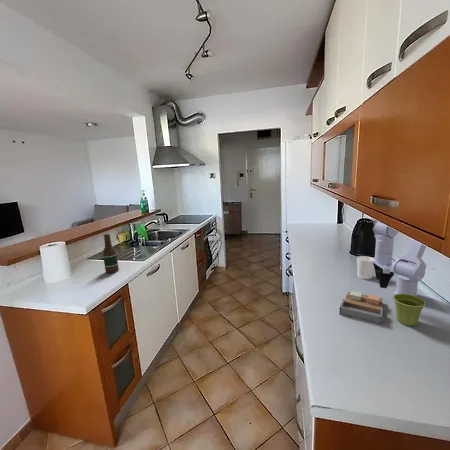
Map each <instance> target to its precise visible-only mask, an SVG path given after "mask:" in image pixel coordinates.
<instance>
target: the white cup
mask: <svg viewBox="0 0 450 450" xmlns="http://www.w3.org/2000/svg"><path fill="white" fill-rule="evenodd" d="M371 260H375V257H371V256H364V255H362V256H361V255H360V256H357V257H356V271H357V272H356V273H357V274H356V275H357V277H358V278H359V279H362V280H372V279H373V274H374V270H375V268H374V265H373V263H371Z"/></svg>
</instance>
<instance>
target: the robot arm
mask: <svg viewBox="0 0 450 450" xmlns="http://www.w3.org/2000/svg"><path fill="white" fill-rule="evenodd" d="M379 221H380V220H378V221H376V222H375V224H374V226H373V228H372V231H373V233H374V238H375V249H374V250H375V251H374V259H375V260H371V263H373V265H374V272H375V279H376V280H378V281H379V282H378V283H379V287H380V289H387V288H388V286H389V283H390V281H391V280H392V278H393V277H394V275H395V276H396V283H395V284H396V286H395V288H394V292H393V293H394V294H393V296H394V295H396V294H409V295H413V296H416V297H418V286H419V285H418V284H419V281H422V280H423V279H424V277H425V274H426V269H427V264H426V263H425V261H424V260H423V259H422V258H423V255H424V253H425V251H426V248H427V246H424V245H422V244H420V243H418V242H416V241H415V240H413V239H412V240H411V243H410V245H409V248H408V250H407V252H406V253H405V254H402V255H399V256H398V258H397V260H396V261H395V262H394V263H393V254H394V253H393V251H394V241H395V237H396V236H397V235H398V234H399V231H396V230H394V229H392V228H390V227H388V226H386V225H385V224H383V223H381V222H379ZM391 268H392V271H391Z"/></svg>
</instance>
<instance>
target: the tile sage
mask: <svg viewBox="0 0 450 450" xmlns="http://www.w3.org/2000/svg"><path fill="white" fill-rule="evenodd" d="M350 292H351V293H350V299H353V300H357V301H361V297H362V295H363V293H362V292H360V291H354V290H351V291H350Z"/></svg>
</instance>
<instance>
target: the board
mask: <svg viewBox="0 0 450 450" xmlns="http://www.w3.org/2000/svg"><path fill="white" fill-rule="evenodd" d="M350 293H351V291H348V292H347V294H346V297H345V299H344V300H345V301H344V305H345V306H350V307H354V308H358V309H362V310H367V311H371V312H375V313H379V314H380V313H381V308H383V300H384V299H383V298H382V297H380V301H379V305H375V304H371V303H367V300H368V295H367V294H362V297H361V301H357V300H353V299H350Z"/></svg>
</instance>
